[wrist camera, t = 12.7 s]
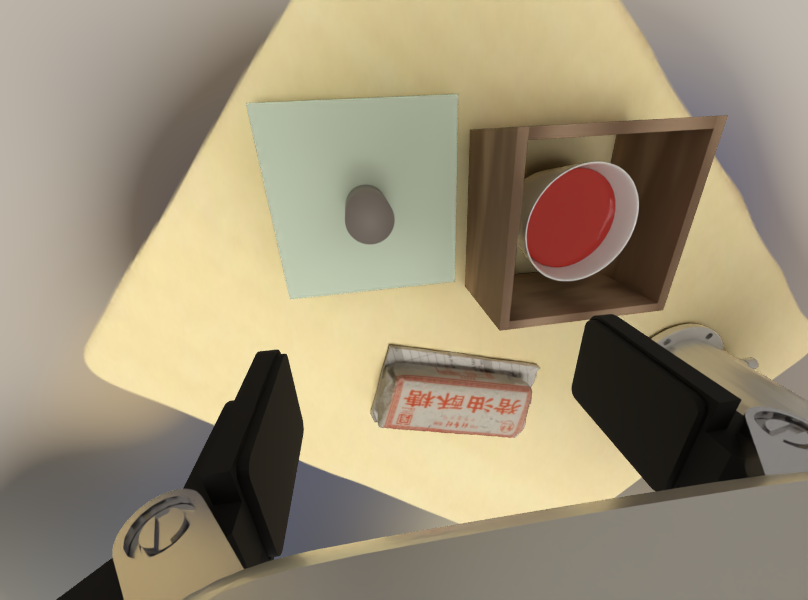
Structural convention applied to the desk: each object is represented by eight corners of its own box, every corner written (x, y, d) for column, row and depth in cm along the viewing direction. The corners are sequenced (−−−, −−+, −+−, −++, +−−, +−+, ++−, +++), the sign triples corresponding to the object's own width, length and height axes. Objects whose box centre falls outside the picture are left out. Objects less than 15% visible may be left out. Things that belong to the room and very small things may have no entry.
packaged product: (370, 446, 35) (393, 368, 31) (368, 412, 39) (388, 340, 35) (522, 455, 39) (559, 388, 35) (505, 423, 43) (536, 360, 39)
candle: (539, 134, 28) (587, 133, 22) (604, 194, 31) (661, 207, 25) (473, 225, 30) (501, 245, 25) (539, 272, 34) (578, 299, 28)
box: (627, 121, 28) (727, 115, 21) (594, 272, 35) (663, 310, 27) (470, 129, 27) (517, 127, 19) (465, 286, 33) (499, 330, 25)
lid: (450, 97, 25) (483, 83, 19) (448, 273, 32) (473, 306, 25) (253, 105, 24) (219, 94, 18) (293, 289, 30) (279, 329, 24)
